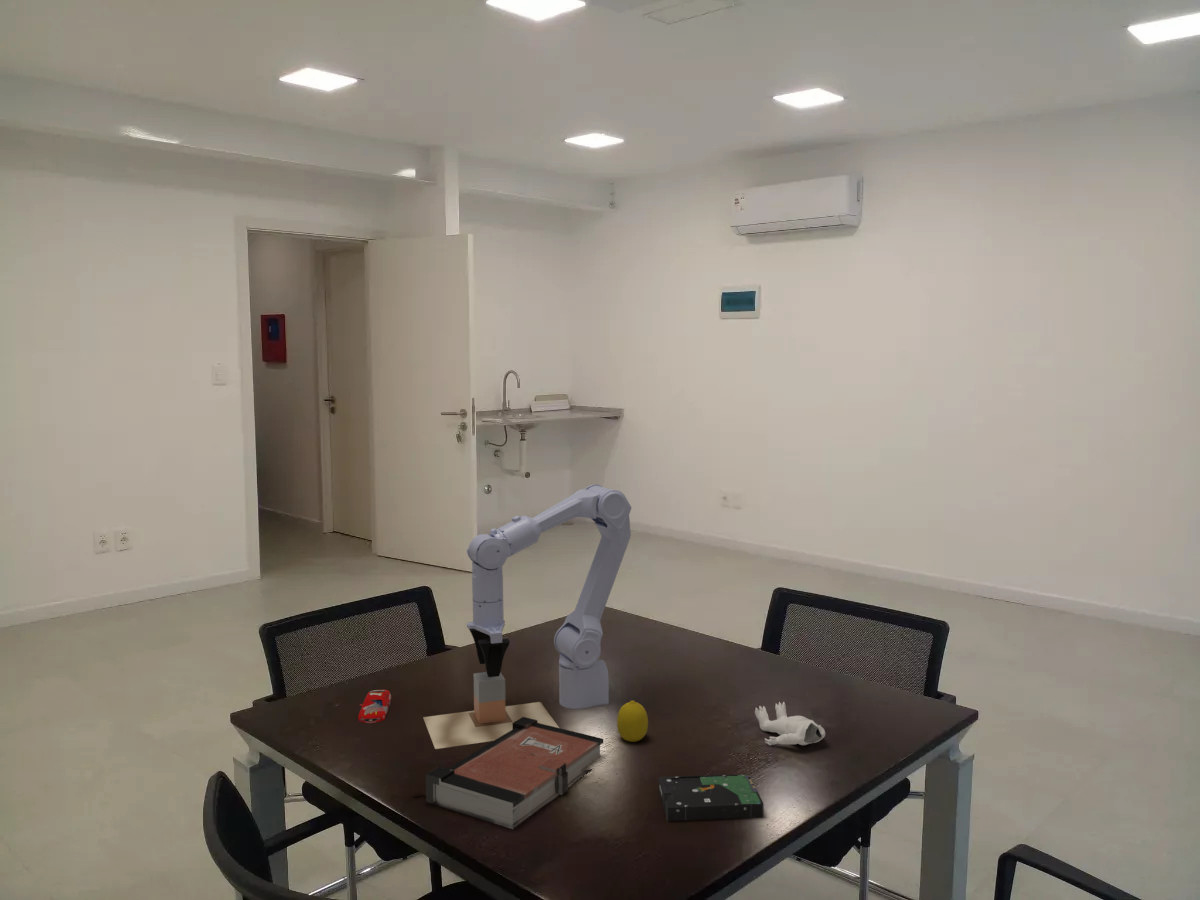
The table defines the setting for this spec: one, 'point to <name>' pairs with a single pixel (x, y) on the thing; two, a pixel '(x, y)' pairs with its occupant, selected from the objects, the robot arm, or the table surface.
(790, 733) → the toy creature
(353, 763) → the table surface
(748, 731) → the table surface
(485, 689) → the grey brick
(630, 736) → the lemon
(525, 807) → the book
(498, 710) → the terracotta brick
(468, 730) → the board
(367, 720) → the race car
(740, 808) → the disk drive
